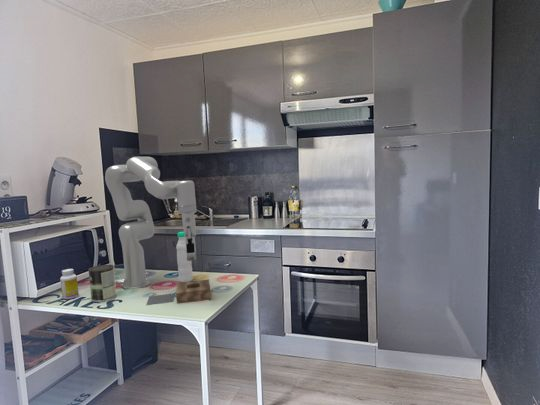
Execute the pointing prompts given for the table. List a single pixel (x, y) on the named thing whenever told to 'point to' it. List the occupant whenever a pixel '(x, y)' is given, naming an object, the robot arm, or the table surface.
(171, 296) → the rubber mat
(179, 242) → the water bottle
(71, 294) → the supplement bottle
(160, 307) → the table surface
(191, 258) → the steel peg
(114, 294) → the coffee can
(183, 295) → the brown peg hole board
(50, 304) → the table surface
